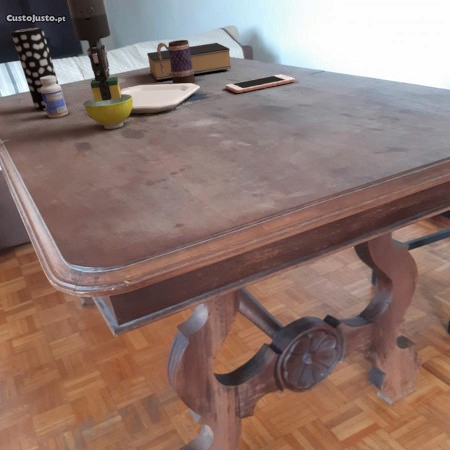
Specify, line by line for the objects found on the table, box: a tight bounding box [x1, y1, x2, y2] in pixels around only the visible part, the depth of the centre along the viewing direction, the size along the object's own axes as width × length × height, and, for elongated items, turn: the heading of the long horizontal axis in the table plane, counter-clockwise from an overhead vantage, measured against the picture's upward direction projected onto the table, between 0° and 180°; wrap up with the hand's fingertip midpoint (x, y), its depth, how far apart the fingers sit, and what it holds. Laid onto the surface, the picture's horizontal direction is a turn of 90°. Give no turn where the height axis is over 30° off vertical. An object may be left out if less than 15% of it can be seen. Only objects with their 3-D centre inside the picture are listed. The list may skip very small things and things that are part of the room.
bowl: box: [83, 94, 133, 130], centre depth 113 cm, size 11×12×6 cm
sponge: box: [90, 76, 121, 102], centre depth 111 cm, size 6×4×4 cm
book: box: [146, 42, 232, 82], centre depth 160 cm, size 17×25×7 cm
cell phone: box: [225, 73, 296, 94], centre depth 134 cm, size 9×18×1 cm, turn 112°
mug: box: [156, 39, 196, 84], centre depth 144 cm, size 10×7×12 cm
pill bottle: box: [40, 76, 69, 119], centre depth 127 cm, size 5×5×10 cm
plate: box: [120, 83, 201, 114], centre depth 130 cm, size 25×25×2 cm
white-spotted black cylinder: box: [10, 26, 60, 112], centre depth 134 cm, size 8×8×20 cm
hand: (107, 96), depth 111 cm, fingers closed on sponge, 4 cm apart
